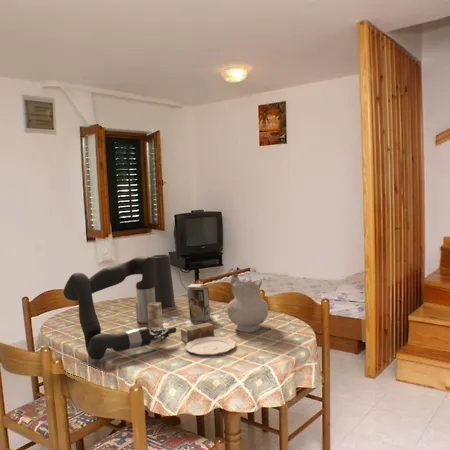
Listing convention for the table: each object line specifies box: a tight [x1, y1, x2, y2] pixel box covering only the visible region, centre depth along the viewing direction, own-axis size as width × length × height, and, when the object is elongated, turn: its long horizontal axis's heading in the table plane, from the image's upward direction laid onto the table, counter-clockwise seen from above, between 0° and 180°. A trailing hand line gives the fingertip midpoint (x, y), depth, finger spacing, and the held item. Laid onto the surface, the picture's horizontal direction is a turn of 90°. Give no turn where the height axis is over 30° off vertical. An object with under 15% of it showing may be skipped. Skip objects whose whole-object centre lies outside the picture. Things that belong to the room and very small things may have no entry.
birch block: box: [147, 302, 164, 330], centre depth 213 cm, size 5×5×14 cm
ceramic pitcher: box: [226, 273, 269, 333], centre depth 214 cm, size 22×20×25 cm
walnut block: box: [180, 321, 215, 344], centre depth 204 cm, size 5×5×14 cm
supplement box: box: [186, 283, 205, 307], centre depth 257 cm, size 7×7×13 cm
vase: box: [150, 254, 176, 309], centre depth 266 cm, size 14×14×29 cm
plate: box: [184, 336, 237, 356], centre depth 189 cm, size 21×21×2 cm
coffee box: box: [187, 286, 211, 322], centre depth 232 cm, size 9×6×16 cm
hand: (175, 329), depth 197 cm, fingers closed
